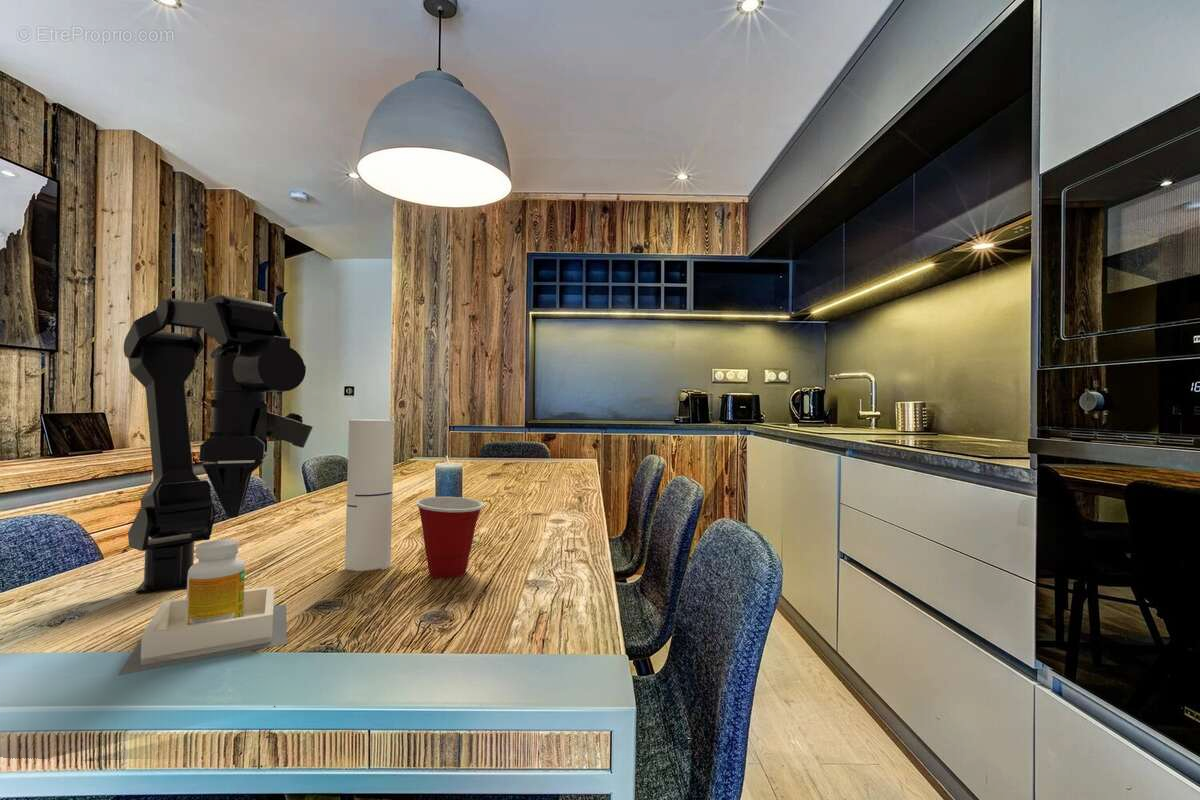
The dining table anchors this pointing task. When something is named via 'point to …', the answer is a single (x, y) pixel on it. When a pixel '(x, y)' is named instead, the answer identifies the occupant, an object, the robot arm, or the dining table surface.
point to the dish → (207, 629)
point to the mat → (277, 639)
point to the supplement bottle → (215, 583)
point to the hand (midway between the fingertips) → (236, 511)
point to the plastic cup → (448, 533)
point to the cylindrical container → (369, 495)
